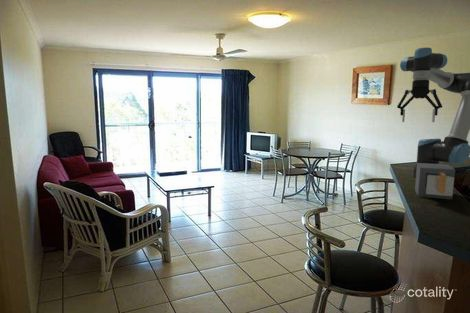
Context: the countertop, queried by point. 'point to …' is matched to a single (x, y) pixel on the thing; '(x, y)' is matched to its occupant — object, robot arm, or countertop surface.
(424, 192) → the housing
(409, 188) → the countertop surface
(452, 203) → the countertop surface
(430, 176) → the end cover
